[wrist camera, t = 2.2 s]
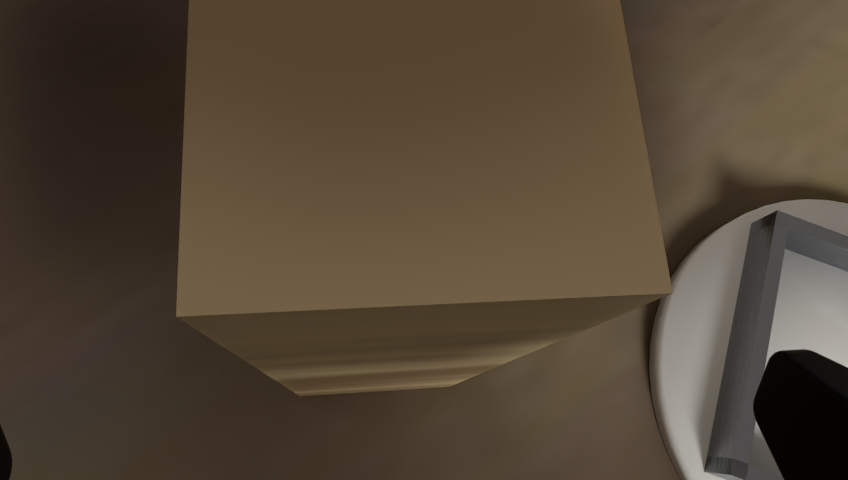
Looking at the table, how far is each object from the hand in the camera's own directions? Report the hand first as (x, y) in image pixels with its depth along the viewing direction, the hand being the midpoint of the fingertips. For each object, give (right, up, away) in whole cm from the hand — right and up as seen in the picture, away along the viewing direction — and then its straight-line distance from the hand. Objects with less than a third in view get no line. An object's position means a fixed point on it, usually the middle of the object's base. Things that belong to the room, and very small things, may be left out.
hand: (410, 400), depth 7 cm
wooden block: (-1, 0, +10) cm, 10 cm away
